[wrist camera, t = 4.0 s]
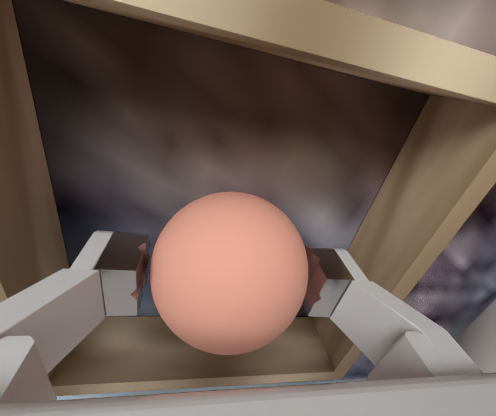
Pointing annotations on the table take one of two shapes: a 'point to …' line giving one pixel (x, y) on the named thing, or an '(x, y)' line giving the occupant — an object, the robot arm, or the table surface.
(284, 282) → the ball
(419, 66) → the wooden square frame
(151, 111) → the table surface
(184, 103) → the table surface
